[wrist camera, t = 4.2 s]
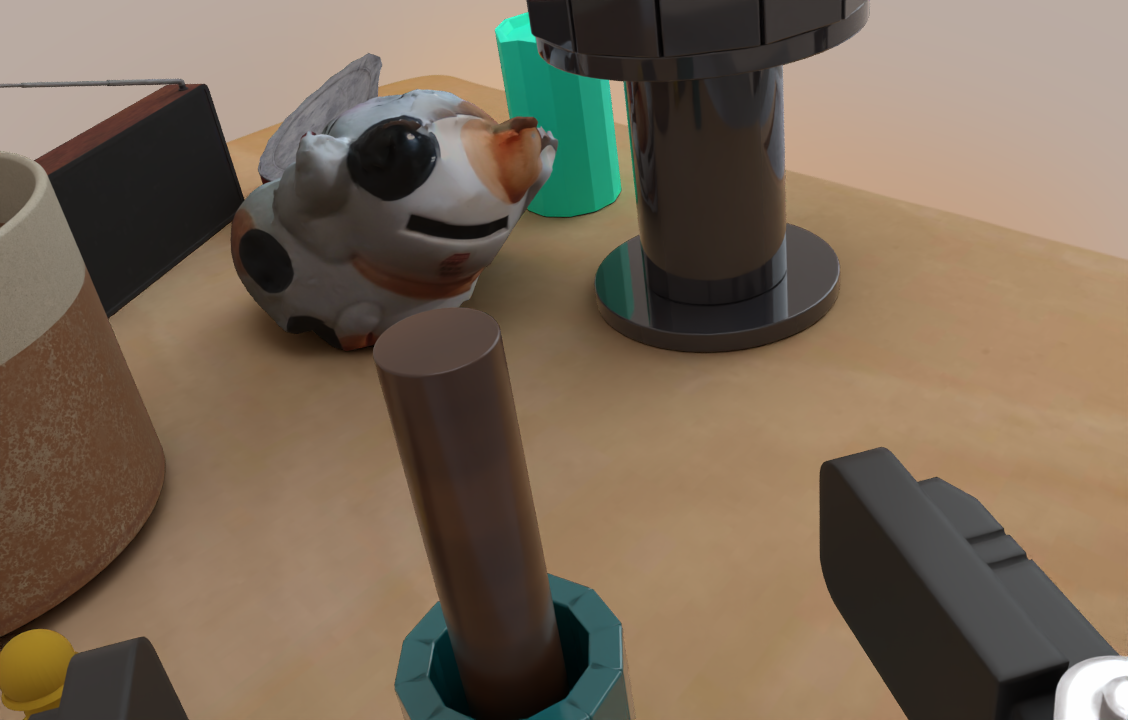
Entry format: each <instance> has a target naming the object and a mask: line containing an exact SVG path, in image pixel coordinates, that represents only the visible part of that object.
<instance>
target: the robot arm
mask: <svg viewBox="0 0 1128 720" xmlns="http://www.w3.org/2000/svg"><path fill="white" fill-rule="evenodd" d="M820 561H821V567H822V572H823V576H824V579H825V582H826V585H827V588H828V591H829V593H830V595H831V598H832V600H833V602H834V604H835V605H836V607H837V609H838V610H839V612H840V613H841V615H842V616H843V618H844V620H845V621H846V623H847V624H848V626H849V627H850V629H851V630H852V632H853V634H854V635H855V637H856V638H857V640H858V641H859V643H860V645H861V646H862V648H863V649H864V651H865V652H866V654H867V656H868V657H869V659H870V660H871V662H872V663H873V665H874V666H875V668H876V670H877V671H878V673H879V674H880V676H881V677H882V679H883V681H884V682H885V684H886V685H887V687H888V688H889V690H890V691H891V693H892V695H893V696H894V698H895V699H896V701H897V702H898V704H899V706H900V707H901V709H902V710H903V712H904V713H905V715H906V717H907V718H908V720H1128V657H1125V656H1120V655H1119V654H1118V653H1117V652H1116V651H1115V650H1114V649H1113V648H1112V647H1111V646H1110V645H1109V644H1108V643H1107V641H1106V640H1105V639H1104V638H1103V637H1102V636H1101V635H1100V634H1099V633H1098V632H1097V630H1096V629H1095V628H1094V627H1093V626H1092V625H1091V624H1090V623H1089V622H1088V621H1087V619H1086V618H1085V617H1084V616H1083V615H1082V614H1081V613H1080V612H1079V611H1078V610H1077V608H1076V607H1075V606H1074V605H1073V604H1072V603H1071V602H1070V601H1069V600H1068V599H1067V597H1066V596H1065V595H1064V594H1063V593H1062V592H1061V591H1060V590H1059V589H1058V588H1057V586H1056V585H1055V584H1054V583H1053V582H1052V581H1051V580H1050V579H1049V578H1048V577H1047V575H1046V574H1045V573H1044V572H1043V571H1042V570H1041V569H1040V568H1039V567H1038V566H1037V564H1036V563H1035V562H1034V561H1033V560H1032V559H1031V560H1028V558H1027V556H1026V552H1025V551H1024V550H1023V549H1022V548H1021V547H1020V546H1019V545H1018V544H1017V542H1016V541H1015V540H1014V539H1013V538H1012V537H1011V536H1010V535H1006V534H1005V532H1004V528H1003V527H1002V526H1001V525H1000V524H999V523H998V522H997V521H996V519H995V518H994V517H993V516H992V515H991V514H990V513H989V512H988V511H987V510H986V508H985V507H984V506H983V505H982V504H981V503H980V502H979V501H978V500H977V499H976V498H974V497H973V496H971V495H969V494H967V493H965V492H964V491H962V490H960V489H958V488H956V487H955V486H953V485H951V484H949V483H947V482H946V481H944V480H942V479H940V478H938V477H934V478H931V479H927V480H923V481H919V482H917V481H916V480H915V479H914V478H913V477H912V476H911V474H910V473H909V472H908V471H907V470H906V468H905V467H904V466H903V465H902V464H901V463H900V461H899V460H898V459H897V458H896V457H895V456H894V454H893V453H892V452H891V451H889V450H888V449H886V448H884V447H879V448H875V449H872V450H868V451H864V452H860V453H856V454H852V455H848V456H845V457H841V458H837V459H833V460H829V461H826V462H824V463H823V464H822V466H821V469H820ZM28 720H189V719H188V717H187V715H186V713H185V711H184V709H183V707H182V705H181V703H180V701H179V699H178V696H177V694H176V692H175V690H174V688H173V686H172V684H171V682H170V680H169V678H168V676H167V674H166V672H165V670H164V668H163V665H162V663H161V661H160V659H159V657H158V655H157V653H156V651H155V649H154V647H153V645H152V644H151V642H150V641H149V640H148V639H147V638H145V637H139V638H135V639H131V640H127V641H123V642H119V643H115V644H112V645H108V646H104V647H100V648H96V649H92V650H88V651H85V652H81V653H77V654H75V655H73V657H72V658H71V660H70V662H69V665H68V668H67V673H66V677H65V682H64V687H63V691H62V696H61V700H60V705H59V707H58V708H54V709H51V710H47V711H43V712H39V713H36V714H32V715H31V716H30V717H29V719H28Z"/></svg>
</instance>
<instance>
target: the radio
mask: <svg viewBox="0 0 1128 720" xmlns="http://www.w3.org/2000/svg"><path fill="white" fill-rule="evenodd" d="M158 84H159V85H160V84H173V85H166V86H164V87H163V88H161V89H159V90H157V91H155V92H154V93H152V94H150V95H148V96H147V97H145V98H143V99H141V100H140V101H138V102H136V103H134V104H133V105H131V106H129V107H127V108H125V109H124V110H122V111H120V112H119V113H117V114H115V115H113V116H111V117H110V118H108V119H106V120H105V121H103V122H101V123H99V124H97V125H96V126H94V127H92V128H90V129H89V130H87V131H85V132H83V133H81V134H80V135H78V136H76V137H74V138H73V139H71V140H69V141H68V142H66V143H64V144H62V145H60V146H59V147H57V148H55V149H53V150H52V151H50V152H48V153H47V154H45V155H43V156H41V157H39V158H38V159H36V160H34V161H35V162H37V163H38V164H39V165H40V166H41V167H42V168H43V169H44V170H45V172H46V174H47V176H48V178H49V180H50V183H51V185H52V187H53V190H54V192H55V195H56V197H57V199H58V202H59V204H60V206H61V209H62V211H63V213H64V216H65V218H66V221H67V223H68V225H69V228H70V230H71V232H72V235H73V237H74V240H75V242H76V244H77V247H78V249H79V251H80V254H81V256H82V258H83V261H84V263H85V266H86V268H87V270H88V273H89V275H90V277H91V280H92V282H93V285H94V287H95V289H96V292H97V294H98V296H99V299H100V301H101V304H102V306H103V308H104V311H105V313H106V315H107V318H109V317H110V316H112V315H113V314H114V313H115V312H117V311H118V310H119V309H120V308H122V307H123V306H124V305H126V304H127V303H128V302H129V301H131V300H132V299H133V298H134V297H136V296H137V295H138V294H140V293H141V292H142V291H143V290H145V289H146V288H147V287H148V286H150V285H151V284H152V283H153V282H155V281H156V280H157V279H159V278H160V277H161V276H162V275H164V274H165V273H166V272H167V271H169V270H170V269H171V268H172V267H174V266H175V265H176V264H178V263H179V262H180V261H181V260H183V259H184V258H185V257H186V256H188V255H189V254H190V253H191V252H193V251H194V250H195V249H197V248H198V247H199V246H200V245H202V244H203V243H204V242H205V241H207V240H208V239H209V238H210V237H212V236H213V235H214V234H216V233H217V232H218V231H219V230H221V229H222V228H223V227H224V226H226V225H227V224H228V223H230V222H231V221H232V220H233V219H234V216H235V214H236V212H237V210H238V208H239V207H240V205H241V204H242V203H243V201H244V197H243V194H242V191H241V188H240V185H239V182H238V178H237V175H236V172H235V169H234V166H233V163H232V160H231V157H230V154H229V150H228V147H227V144H226V141H225V138H224V135H223V132H222V129H221V125H220V122H219V120H218V116H217V113H216V110H215V107H214V104H213V101H212V97H211V94H210V91H209V89H208V87H207V85H205V84H185V83H184V80H182V79H148V80H107V81H82V82H37V83H21V84H0V87H22V88H26V87H60V86H61V87H62V86H63V87H64V86H98V85H99V86H101V85H107V86H122V85H123V86H124V85H158Z"/></svg>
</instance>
